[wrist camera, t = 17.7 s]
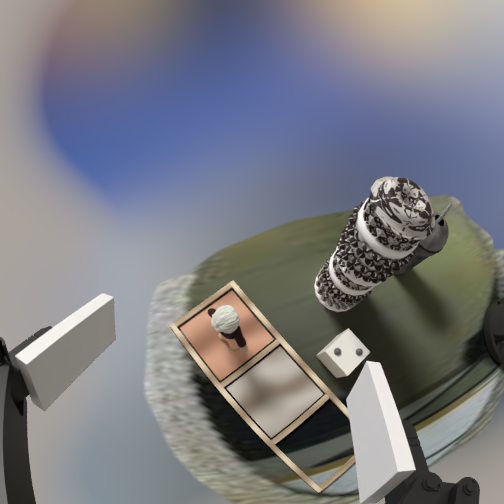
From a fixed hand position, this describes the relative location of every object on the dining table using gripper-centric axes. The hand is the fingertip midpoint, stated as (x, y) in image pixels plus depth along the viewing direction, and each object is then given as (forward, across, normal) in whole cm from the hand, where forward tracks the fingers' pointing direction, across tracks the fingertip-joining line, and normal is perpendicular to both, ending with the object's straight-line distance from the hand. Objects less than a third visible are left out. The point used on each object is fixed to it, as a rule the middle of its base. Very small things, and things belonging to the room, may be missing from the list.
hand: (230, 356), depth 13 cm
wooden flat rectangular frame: (+21, +6, -21) cm, 30 cm away
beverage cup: (+40, +24, -2) cm, 47 cm away
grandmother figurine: (+25, -3, -16) cm, 30 cm away
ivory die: (+26, +14, -16) cm, 34 cm away
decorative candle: (+34, +13, -8) cm, 37 cm away
